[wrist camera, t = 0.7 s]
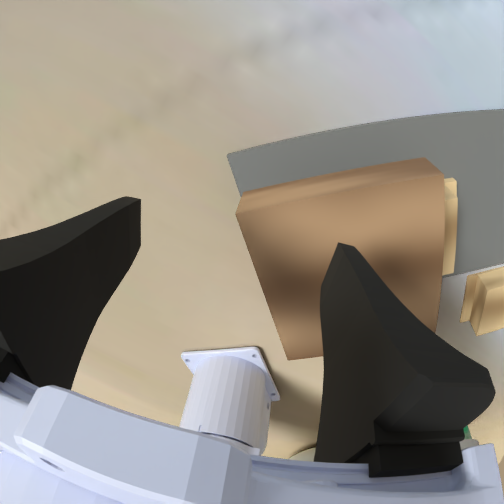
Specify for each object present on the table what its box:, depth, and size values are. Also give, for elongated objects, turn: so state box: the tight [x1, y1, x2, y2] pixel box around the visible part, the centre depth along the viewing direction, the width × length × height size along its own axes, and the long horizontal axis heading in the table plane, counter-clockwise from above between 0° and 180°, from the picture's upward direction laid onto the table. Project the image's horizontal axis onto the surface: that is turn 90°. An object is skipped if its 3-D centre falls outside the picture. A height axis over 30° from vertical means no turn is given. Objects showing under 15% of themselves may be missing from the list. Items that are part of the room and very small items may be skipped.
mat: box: [227, 109, 504, 278], centre depth 19 cm, size 12×26×1 cm, turn 107°
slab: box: [236, 157, 445, 360], centre depth 18 cm, size 11×10×3 cm
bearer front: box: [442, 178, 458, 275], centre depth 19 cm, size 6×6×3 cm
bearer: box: [460, 266, 504, 336], centre depth 22 cm, size 6×6×3 cm
